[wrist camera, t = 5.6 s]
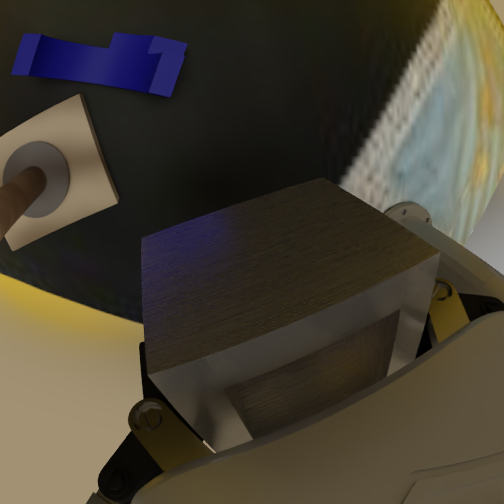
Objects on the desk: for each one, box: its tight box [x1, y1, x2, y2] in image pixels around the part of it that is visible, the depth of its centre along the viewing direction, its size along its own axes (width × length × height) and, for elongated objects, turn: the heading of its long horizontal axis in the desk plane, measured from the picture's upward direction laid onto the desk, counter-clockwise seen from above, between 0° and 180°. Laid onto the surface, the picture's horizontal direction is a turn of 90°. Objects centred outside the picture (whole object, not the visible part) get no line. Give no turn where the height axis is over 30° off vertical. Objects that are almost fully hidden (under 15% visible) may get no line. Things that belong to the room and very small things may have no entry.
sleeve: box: [141, 177, 440, 453], centre depth 10 cm, size 7×7×6 cm
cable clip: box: [11, 32, 187, 98], centre depth 17 cm, size 12×4×6 cm, turn 71°
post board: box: [0, 94, 119, 251], centre depth 17 cm, size 10×12×12 cm
